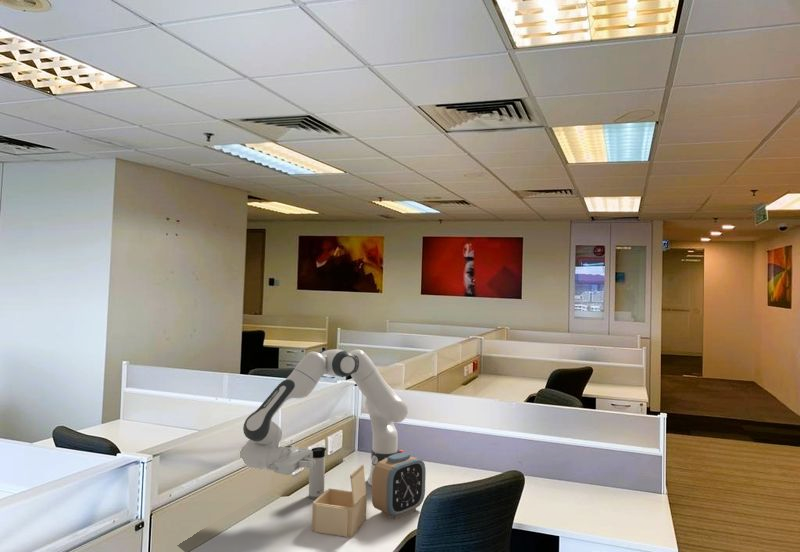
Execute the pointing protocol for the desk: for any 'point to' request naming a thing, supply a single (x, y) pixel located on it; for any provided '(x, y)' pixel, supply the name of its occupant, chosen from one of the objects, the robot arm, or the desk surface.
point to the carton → (338, 513)
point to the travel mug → (317, 473)
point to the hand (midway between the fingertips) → (313, 463)
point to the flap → (358, 484)
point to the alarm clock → (398, 484)
